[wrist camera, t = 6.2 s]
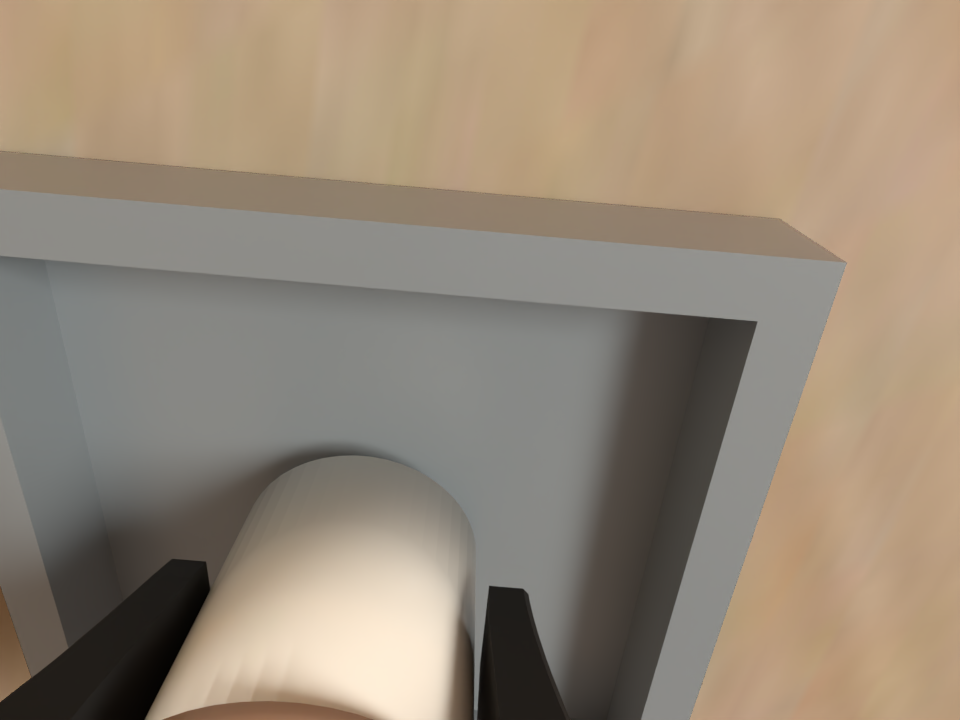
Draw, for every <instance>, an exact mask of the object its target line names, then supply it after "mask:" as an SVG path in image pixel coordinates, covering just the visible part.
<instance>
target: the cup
mask: <svg viewBox="0 0 960 720" xmlns="http://www.w3.org/2000/svg"><path fill="white" fill-rule="evenodd" d="M475 599H476V544H475V539H474V534H473V530H472V528H471V525H470V523H469V520H468V518H467V516H466V515H465V513H464V511H463V510H462V508H461V507H460V505H459V504H458V503H457V502H456V500H455V499H454V498H453V497H452V496H451V495H450V494H449V493H448V492H447V491H446V490H445V489H444V488H443V487H442V486H440V485H439V484H438V483H436V482H435V481H433V480H432V479H431V478H429V477H427V476H426V475H424V474H422V473H420V472H419V471H417V470H415V469H412V468H410V467H407V466H405V465H403V464H400V463H396V462H393V461H390V460H386V459H381V458H376V457H370V456H356V455H350V456H334V457H327V458H321V459H318V460H314V461H310V462H307V463H305V464H302V465H300V466H297V467H295V468H293V469H291V470H289V471H287V472H286V473H284V474H282V475H281V476H279V477H278V478H277V479H276V480H274V481H273V482H272V483H270V485H269V486H268V487H267V488H266V489H265V490H264V491H263V492H262V493H261V494H260V496H259V497H258V499H257V500H256V502H255V503H254V505H253V507H252V509H251V511H250V513H249V515H248V517H247V519H246V521H245V523H244V525H243V527H242V529H241V531H240V533H239V535H238V537H237V539H236V541H235V543H234V544H233V546H232V548H231V550H230V552H229V554H228V556H227V558H226V560H225V562H224V564H223V566H222V568H221V570H220V572H219V574H218V576H217V578H216V580H215V582H214V584H213V586H212V588H211V590H210V592H209V594H208V596H207V598H206V600H205V602H204V604H203V606H202V608H201V610H200V611H199V613H198V615H197V617H196V619H195V621H194V623H193V625H192V627H191V629H190V631H189V633H188V635H187V637H186V639H185V641H184V643H183V645H182V647H181V649H180V651H179V653H178V655H177V657H176V659H175V661H174V663H173V665H172V667H171V669H170V671H169V673H168V675H167V677H166V678H165V680H164V682H163V684H162V686H161V688H160V690H159V692H158V694H157V696H156V698H155V700H154V702H153V704H152V706H151V708H150V710H149V712H148V714H147V716H146V718H145V720H474V676H475Z"/></svg>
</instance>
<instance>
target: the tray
mask: <svg viewBox="0 0 960 720" xmlns="http://www.w3.org/2000/svg"><path fill="white" fill-rule="evenodd" d="M846 264H847V263H846V262H845V261H843V260H842V259H840V258H839V257H837V256H836V255H834V254H833V253H831V252H830V251H828V250H827V249H825V248H824V247H822V246H820V245H819V244H817V243H816V242H814V241H813V240H811V239H810V238H808V237H807V236H805V235H804V234H802V233H801V232H799V231H798V230H796V229H794V228H793V227H791V226H790V225H788V224H787V223H785V222H784V221H782V220H781V219H774V218H763V217H751V216H740V215H728V214H717V213H705V212H694V211H682V210H671V209H659V208H648V207H636V206H625V205H613V204H602V203H590V202H579V201H567V200H556V199H544V198H533V197H521V196H510V195H499V194H487V193H476V192H464V191H453V190H441V189H430V188H418V187H407V186H395V185H384V184H372V183H361V182H349V181H338V180H326V179H315V178H303V177H292V176H280V175H269V174H257V173H246V172H234V171H223V170H211V169H200V168H189V167H177V166H166V165H154V164H143V163H131V162H120V161H108V160H97V159H85V158H74V157H62V156H51V155H39V154H28V153H16V152H5V151H0V587H1V589H2V592H3V595H4V598H5V601H6V604H7V607H8V610H9V613H10V616H11V619H12V622H13V625H14V628H15V631H16V633H17V636H18V639H19V642H20V645H21V648H22V651H23V654H24V657H25V660H26V663H27V666H28V669H29V672H30V675H31V678H32V677H33V676H34V675H36V674H37V673H38V672H39V671H41V670H42V669H43V668H45V667H46V666H47V665H48V664H50V663H51V662H52V661H53V660H55V659H56V658H57V657H58V656H59V655H61V654H62V653H63V652H64V651H65V650H67V649H68V648H69V647H70V646H71V645H73V644H74V643H75V642H76V641H77V640H78V639H80V638H81V637H82V636H83V635H84V634H86V633H87V632H88V631H89V630H90V629H91V628H93V627H94V626H95V625H96V624H97V623H99V622H100V621H101V620H102V619H103V618H104V617H106V616H107V615H108V614H109V613H110V612H111V611H112V610H114V609H115V608H116V607H117V606H118V605H119V604H120V603H122V602H123V601H124V600H125V599H126V598H127V597H128V596H130V595H131V594H132V593H133V592H134V591H135V590H136V589H137V588H139V587H140V586H141V585H142V584H143V583H144V582H145V581H147V580H148V579H149V578H150V577H151V576H152V575H153V574H154V573H156V572H157V571H158V570H159V569H160V568H161V567H163V566H164V565H165V564H166V563H167V562H169V561H170V560H171V559H182V560H194V561H206V563H207V570H208V577H209V584H210V590H211V588H212V586H213V584H214V582H215V580H216V578H217V576H218V574H219V572H220V570H221V568H222V566H223V564H224V562H225V560H226V558H227V556H228V554H229V552H230V550H231V548H232V546H233V544H234V543H235V541H236V539H237V537H238V535H239V533H240V531H241V529H242V527H243V525H244V523H245V521H246V519H247V517H248V515H249V513H250V511H251V509H252V507H253V505H254V503H255V502H256V500H257V499H258V497H259V496H260V494H261V493H262V492H263V491H264V490H265V489H266V488H267V487H268V486H269V485H270V483H272V482H273V481H274V480H276V479H277V478H278V477H279V476H281V475H282V474H284V473H286V472H287V471H289V470H291V469H293V468H295V467H297V466H300V465H302V464H305V463H307V462H310V461H314V460H318V459H321V458H327V457H334V456H350V455H356V456H370V457H376V458H381V459H386V460H390V461H393V462H396V463H400V464H403V465H405V466H407V467H410V468H412V469H415V470H417V471H419V472H420V473H422V474H424V475H426V476H427V477H429V478H431V479H432V480H433V481H435V482H436V483H438V484H439V485H440V486H442V487H443V488H444V489H445V490H446V491H447V492H448V493H449V494H450V495H451V496H452V497H453V498H454V499H455V500H456V502H457V503H458V504H459V505H460V507H461V508H462V510H463V511H464V513H465V515H466V516H467V518H468V520H469V523H470V525H471V528H472V530H473V534H474V539H475V544H476V599H475V676H474V720H477V710H478V691H479V673H480V660H481V651H482V643H483V634H484V625H485V616H486V608H487V599H488V590H489V586H498V587H510V588H522V589H524V590H525V591H526V592H527V593H528V594H529V600H530V605H531V609H532V613H533V617H534V621H535V624H536V628H537V631H538V635H539V638H540V641H541V644H542V647H543V650H544V653H545V656H546V659H547V662H548V664H549V667H550V670H551V673H552V675H553V678H554V680H555V683H556V685H557V688H558V690H559V693H560V695H561V698H562V700H563V703H564V705H565V708H566V710H567V713H568V715H569V717H570V720H689V719H690V717H691V714H692V711H693V708H694V705H695V702H696V699H697V696H698V693H699V690H700V688H701V685H702V682H703V679H704V676H705V673H706V670H707V667H708V664H709V661H710V658H711V656H712V653H713V650H714V647H715V644H716V641H717V638H718V635H719V632H720V629H721V627H722V624H723V621H724V618H725V615H726V612H727V609H728V606H729V603H730V600H731V598H732V595H733V592H734V589H735V586H736V583H737V580H738V577H739V574H740V571H741V568H742V566H743V563H744V560H745V557H746V554H747V551H748V548H749V545H750V542H751V539H752V537H753V534H754V531H755V528H756V525H757V522H758V519H759V516H760V513H761V510H762V507H763V505H764V502H765V499H766V496H767V493H768V490H769V487H770V484H771V481H772V478H773V476H774V473H775V470H776V467H777V464H778V461H779V458H780V455H781V452H782V449H783V447H784V444H785V441H786V438H787V435H788V432H789V429H790V426H791V423H792V420H793V417H794V415H795V412H796V409H797V406H798V403H799V400H800V397H801V394H802V391H803V388H804V386H805V383H806V380H807V377H808V374H809V371H810V368H811V365H812V362H813V359H814V357H815V354H816V351H817V348H818V345H819V342H820V339H821V336H822V333H823V330H824V327H825V325H826V322H827V319H828V316H829V313H830V310H831V307H832V304H833V301H834V298H835V296H836V293H837V290H838V287H839V284H840V281H841V278H842V275H843V272H844V269H845V267H846Z"/></svg>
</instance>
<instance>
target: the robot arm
mask: <svg viewBox="0 0 960 720" xmlns="http://www.w3.org/2000/svg"><path fill="white" fill-rule="evenodd" d="M209 592H210V584H209V577H208V570H207V563H206V561H194V560H182V559H171V560H170V561H169V562H167V563H166V564H165V565H164V566H163V567H161V568H160V569H159V570H158V571H157V572H156V573H154V574H153V575H152V576H151V577H150V578H149V579H148V580H147V581H145V582H144V583H143V584H142V585H141V586H140V587H139V588H137V589H136V590H135V591H134V592H133V593H132V594H131V595H130V596H128V597H127V598H126V599H125V600H124V601H123V602H122V603H120V604H119V605H118V606H117V607H116V608H115V609H114V610H112V611H111V612H110V613H109V614H108V615H107V616H106V617H104V618H103V619H102V620H101V621H100V622H99V623H97V624H96V625H95V626H94V627H93V628H91V629H90V630H89V631H88V632H87V633H86V634H84V635H83V636H82V637H81V638H80V639H78V640H77V641H76V642H75V643H74V644H73V645H71V646H70V647H69V648H68V649H67V650H65V651H64V652H63V653H62V654H61V655H59V656H58V657H57V658H56V659H55V660H53V661H52V662H51V663H50V664H48V665H47V666H46V667H45V668H43V669H42V670H41V671H39V672H38V673H37V674H36V675H34V676H33V677H32V678H31V679H29V680H28V681H27V682H25V683H24V684H23V685H22V686H20V687H19V688H18V689H17V690H15V691H14V692H13V693H11V694H10V695H9V696H8V697H6V698H5V699H4V700H3V701H1V702H0V720H145V718H146V716H147V714H148V712H149V710H150V708H151V706H152V704H153V702H154V700H155V698H156V696H157V694H158V692H159V690H160V688H161V686H162V684H163V682H164V680H165V678H166V677H167V675H168V673H169V671H170V669H171V667H172V665H173V663H174V661H175V659H176V657H177V655H178V653H179V651H180V649H181V647H182V645H183V643H184V641H185V639H186V637H187V635H188V633H189V631H190V629H191V627H192V625H193V623H194V621H195V619H196V617H197V615H198V613H199V611H200V610H201V608H202V606H203V604H204V602H205V600H206V598H207V596H208V594H209ZM477 720H570V717H569V715H568V713H567V710H566V708H565V705H564V703H563V700H562V698H561V695H560V693H559V690H558V688H557V685H556V683H555V680H554V678H553V675H552V673H551V670H550V667H549V664H548V662H547V659H546V656H545V653H544V650H543V647H542V644H541V641H540V638H539V635H538V631H537V628H536V624H535V621H534V617H533V613H532V609H531V605H530V600H529V594H528V593H527V592H526V591H525V590H524V589H522V588H510V587H498V586H489V590H488V599H487V608H486V616H485V625H484V634H483V643H482V651H481V660H480V673H479V691H478V710H477Z"/></svg>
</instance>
